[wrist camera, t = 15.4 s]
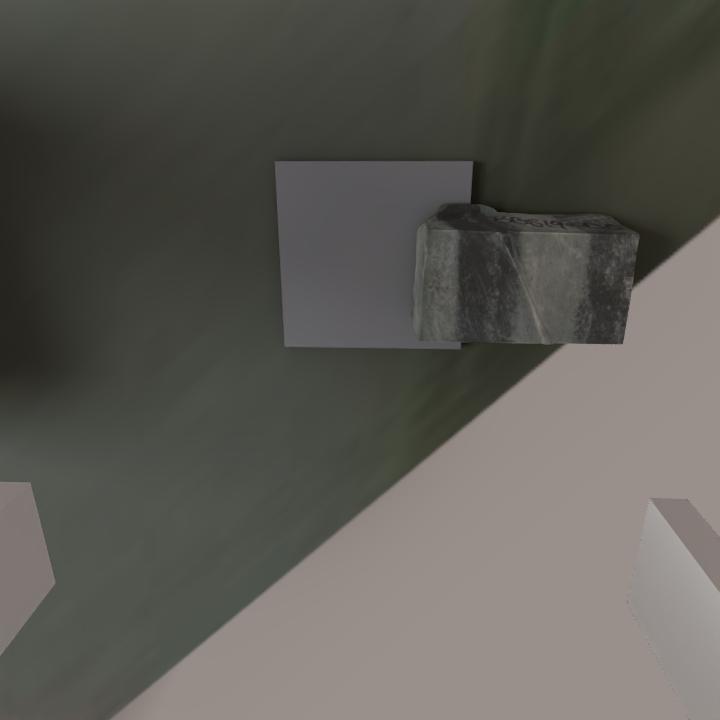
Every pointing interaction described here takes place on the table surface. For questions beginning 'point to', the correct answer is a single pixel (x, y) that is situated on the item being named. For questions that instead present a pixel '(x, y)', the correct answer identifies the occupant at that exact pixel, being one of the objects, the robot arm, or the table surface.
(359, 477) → the table surface
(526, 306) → the stone block
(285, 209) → the slate pad
